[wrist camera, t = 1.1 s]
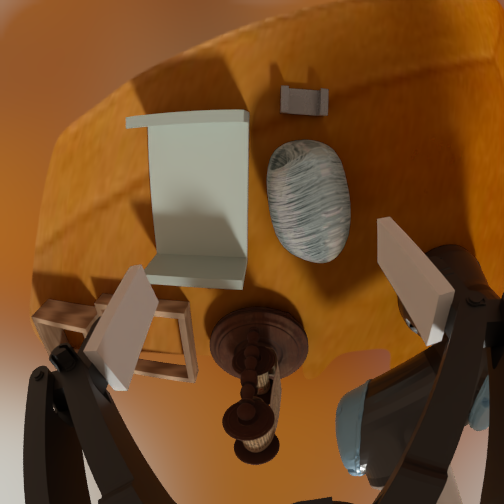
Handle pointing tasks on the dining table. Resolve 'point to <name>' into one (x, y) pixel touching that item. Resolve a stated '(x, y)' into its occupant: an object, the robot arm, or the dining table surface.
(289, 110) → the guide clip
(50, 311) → the frame
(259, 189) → the dining table surface
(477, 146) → the dining table surface
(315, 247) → the grey oval rock
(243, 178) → the holder
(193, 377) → the frame
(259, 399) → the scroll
